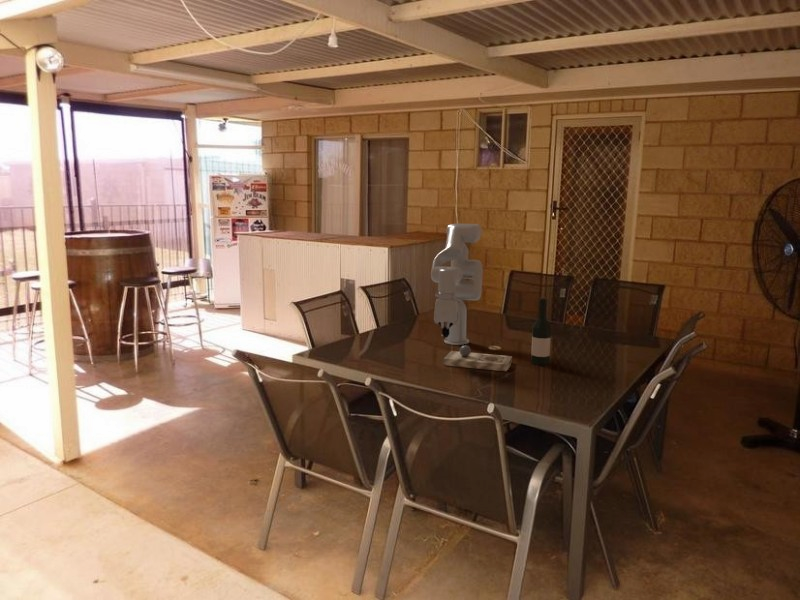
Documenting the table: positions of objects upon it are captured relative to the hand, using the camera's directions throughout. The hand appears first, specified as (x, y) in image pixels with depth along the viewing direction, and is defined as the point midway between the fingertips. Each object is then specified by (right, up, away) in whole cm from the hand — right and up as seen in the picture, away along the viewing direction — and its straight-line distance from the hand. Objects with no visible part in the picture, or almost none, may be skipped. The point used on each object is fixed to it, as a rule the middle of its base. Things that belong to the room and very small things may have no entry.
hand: (445, 336), depth 273 cm
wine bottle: (+42, -12, -1) cm, 44 cm away
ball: (+9, -6, -1) cm, 11 cm away
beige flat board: (+14, -12, -2) cm, 19 cm away
